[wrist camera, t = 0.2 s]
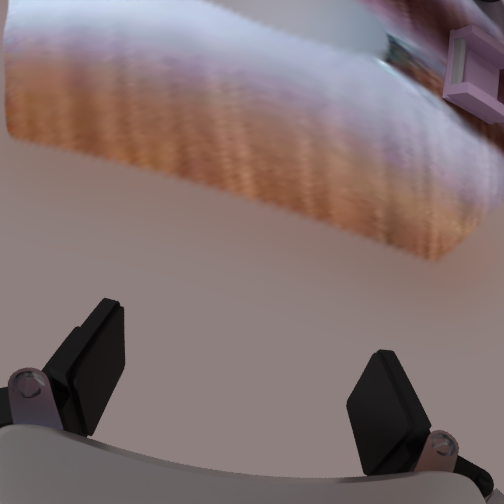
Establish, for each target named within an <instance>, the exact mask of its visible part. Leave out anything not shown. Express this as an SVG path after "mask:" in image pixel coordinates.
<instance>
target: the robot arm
mask: <svg viewBox="0 0 504 504" xmlns="http://www.w3.org/2000/svg"><path fill="white" fill-rule="evenodd" d="M124 344H125V341H124V307H122V306H120V303H119V302H118V301H115V300H111V299H108V298H104V299H103V300H102V301H101V302H100V303H99V304H98V306H97V307H96V308H95V309H94V310H93V312H92V313H91V314H90V315H89V317H88V318H87V319H86V320H85V322H84V323H83V324H82V325H81V327H79V326H77V327H75V328H74V329H73V330H72V332H71V333H70V334H69V336H68V337H67V338H66V339H65V341H64V342H63V343H62V344H61V346H60V347H59V348H58V350H57V351H56V352H55V354H54V355H53V356H52V357H51V359H50V360H49V361H48V363H47V364H46V365H45V367H44V368H43V369H42V371H40V370H38V369H35V368H23V369H19V370H17V371H16V372H14V373H13V374H12V375H11V376H10V378H9V381H8V387H4V388H0V504H504V495H503V494H502V493H501V492H500V491H499V490H498V489H497V488H496V489H495V490H493V487H494V483H493V479H492V477H491V476H490V474H489V473H488V472H486V471H485V470H484V469H482V468H480V467H478V466H476V465H474V464H473V463H471V462H469V461H467V460H466V459H464V458H462V457H460V456H459V455H458V451H459V446H458V443H457V441H456V440H455V438H454V437H453V436H452V435H451V434H449V433H448V432H445V431H442V430H436V431H433V432H432V433H431V432H430V430H429V429H430V427H431V423H430V421H429V419H428V417H427V415H426V413H425V411H424V409H423V407H422V405H421V403H420V401H419V399H418V397H417V395H416V393H415V391H414V389H413V387H412V385H411V383H410V381H409V379H408V377H407V375H406V373H405V371H404V369H403V367H402V366H401V364H400V362H399V360H398V358H397V356H396V354H395V353H394V351H391V350H381V349H380V350H378V351H377V352H376V353H374V354H373V355H372V356H371V358H370V360H369V362H368V364H367V366H366V368H365V370H364V372H363V374H362V375H361V377H360V379H359V381H358V382H357V384H356V386H355V388H354V390H353V391H352V393H351V395H350V396H349V398H348V400H347V405H346V407H347V411H348V415H349V419H350V422H351V426H352V430H353V434H354V438H355V441H356V445H357V449H358V453H359V457H360V461H361V465H362V469H363V472H364V474H365V475H367V476H363V477H345V478H292V477H274V476H259V475H250V474H241V473H233V472H225V471H218V470H212V469H206V468H200V467H194V466H190V465H184V464H180V463H175V462H170V461H166V460H162V459H158V458H154V457H150V456H146V455H142V454H138V453H135V452H131V451H128V450H124V449H121V448H117V447H114V446H111V445H107V444H105V443H102V442H99V441H96V440H93V439H89V438H87V436H88V435H89V436H92V435H93V433H94V431H95V429H96V427H97V425H98V423H99V420H100V418H101V416H102V414H103V412H104V410H105V407H106V405H107V403H108V401H109V399H110V397H111V395H112V393H113V391H114V389H115V387H116V384H117V382H118V380H119V378H120V376H121V374H122V372H123V370H124V366H125V345H124Z"/></svg>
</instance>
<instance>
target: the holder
mask: <svg viewBox="0 0 504 504" xmlns="http://www.w3.org/2000/svg"><path fill="white" fill-rule="evenodd" d="M501 69H504V46H503V45H502V44H501V43H499V42H498V41H497V40H495V39H494V38H493V37H491V36H490V35H488V34H487V33H485V32H484V31H483V30H481V29H480V28H478V27H477V26H475V25H474V24H470V25H468V26H465V27H463V28H460V29H458V30H455V29H453V30H451V31H450V37H449V49H448V59H447V68H446V76H445V83H444V90H443V96H442V98H443V99H445V100H447V101H449V102H451V103H453V104H455V105H457V106H459V107H460V108H462V109H464V110H466V111H468V112H469V113H471V114H473V115H474V116H476V117H478V118H480V119H481V120H483V121H485V122H486V123H488V124H493V125H494V122H499V123H504V105H503V104H502V103H500V102H499V101H498V100H497V95H498V84H499V71H500V70H501Z"/></svg>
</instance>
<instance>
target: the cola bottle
mask: <svg viewBox="0 0 504 504" xmlns="http://www.w3.org/2000/svg"><path fill="white" fill-rule="evenodd" d="M482 1H485V2H497V1H500V0H482Z"/></svg>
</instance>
